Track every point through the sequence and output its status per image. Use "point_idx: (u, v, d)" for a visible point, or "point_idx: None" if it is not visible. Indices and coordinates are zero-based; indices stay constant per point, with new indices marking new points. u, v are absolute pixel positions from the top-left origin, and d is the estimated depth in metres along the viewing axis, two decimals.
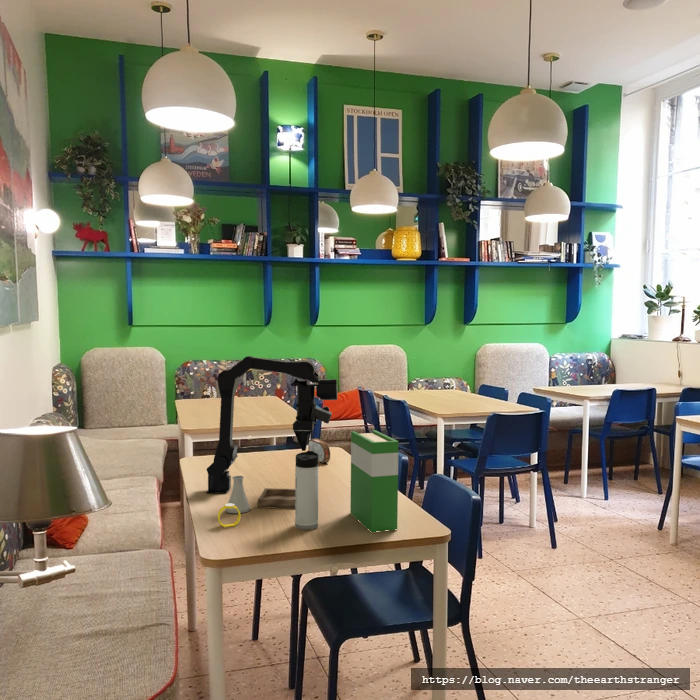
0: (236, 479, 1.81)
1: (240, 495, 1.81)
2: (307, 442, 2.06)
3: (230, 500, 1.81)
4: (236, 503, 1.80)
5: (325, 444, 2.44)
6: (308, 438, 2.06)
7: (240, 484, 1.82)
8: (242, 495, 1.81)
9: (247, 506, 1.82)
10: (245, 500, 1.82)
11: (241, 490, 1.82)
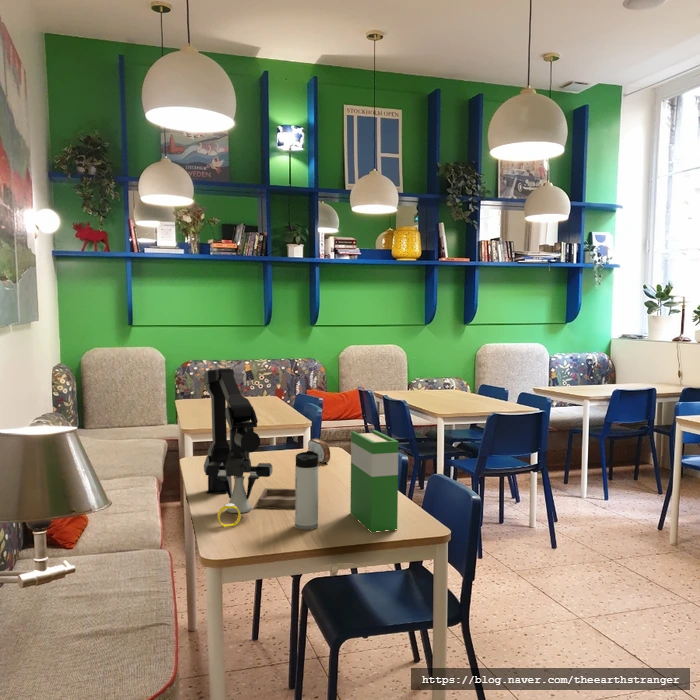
0: (237, 479, 1.81)
1: (241, 495, 1.81)
2: None
3: (231, 500, 1.81)
4: (237, 502, 1.80)
5: (325, 444, 2.44)
6: (247, 491, 1.82)
7: (241, 483, 1.82)
8: (243, 495, 1.81)
9: (248, 506, 1.82)
10: (246, 500, 1.82)
11: (242, 490, 1.82)
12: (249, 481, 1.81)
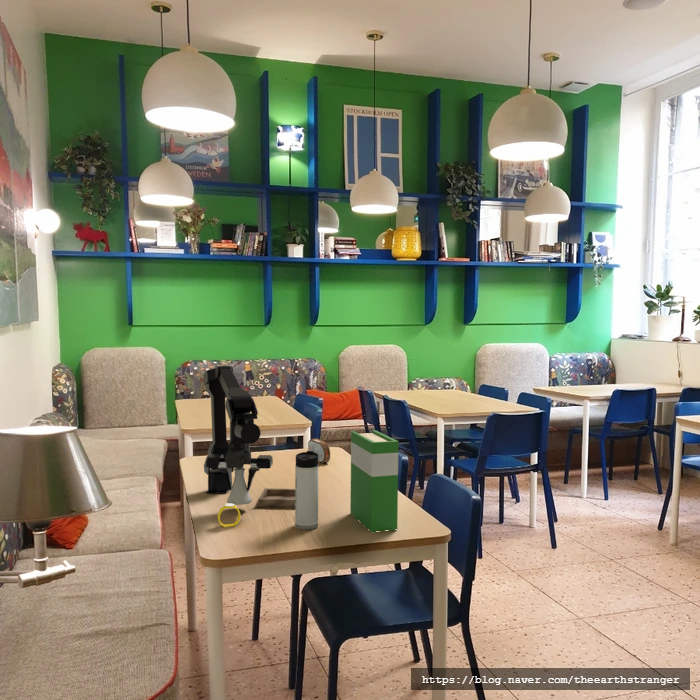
0: (237, 471, 1.81)
1: (242, 487, 1.81)
2: (247, 487, 1.82)
3: (231, 492, 1.81)
4: (237, 494, 1.80)
5: (325, 444, 2.44)
6: None
7: (242, 475, 1.82)
8: (243, 487, 1.81)
9: (248, 498, 1.82)
10: (246, 492, 1.82)
11: (242, 482, 1.81)
12: (249, 473, 1.81)
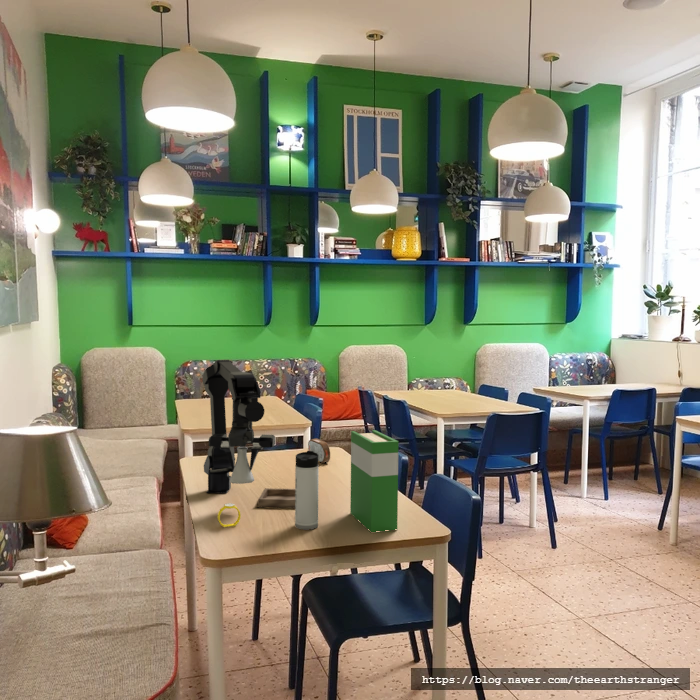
0: (240, 450, 1.81)
1: (244, 466, 1.81)
2: (250, 466, 1.83)
3: (234, 471, 1.81)
4: (240, 473, 1.80)
5: (325, 444, 2.44)
6: None
7: (244, 455, 1.82)
8: (246, 466, 1.81)
9: (251, 477, 1.82)
10: (249, 471, 1.82)
11: (245, 461, 1.82)
12: (252, 452, 1.81)
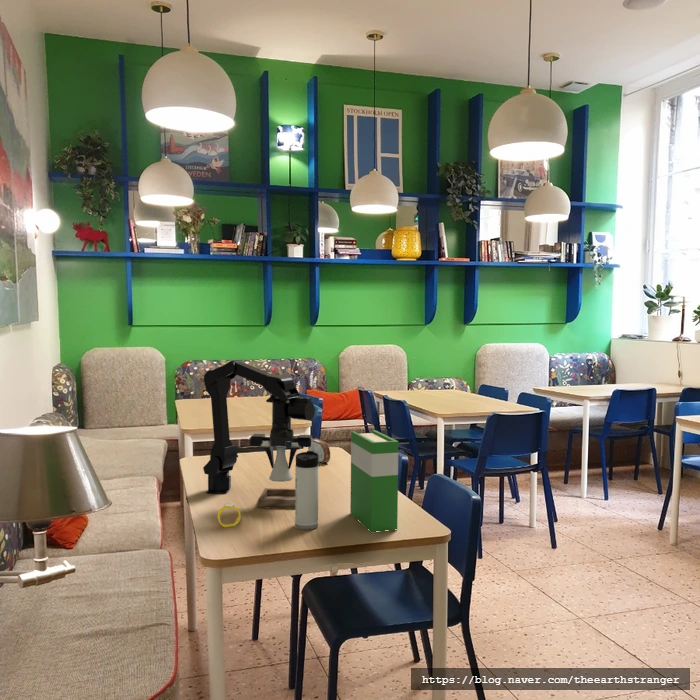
0: (279, 449, 1.89)
1: (284, 465, 1.89)
2: None
3: (274, 469, 1.90)
4: (279, 472, 1.89)
5: (325, 444, 2.44)
6: (289, 461, 1.91)
7: (283, 454, 1.90)
8: (285, 465, 1.90)
9: (290, 475, 1.90)
10: (288, 469, 1.90)
11: (284, 460, 1.90)
12: (291, 451, 1.89)
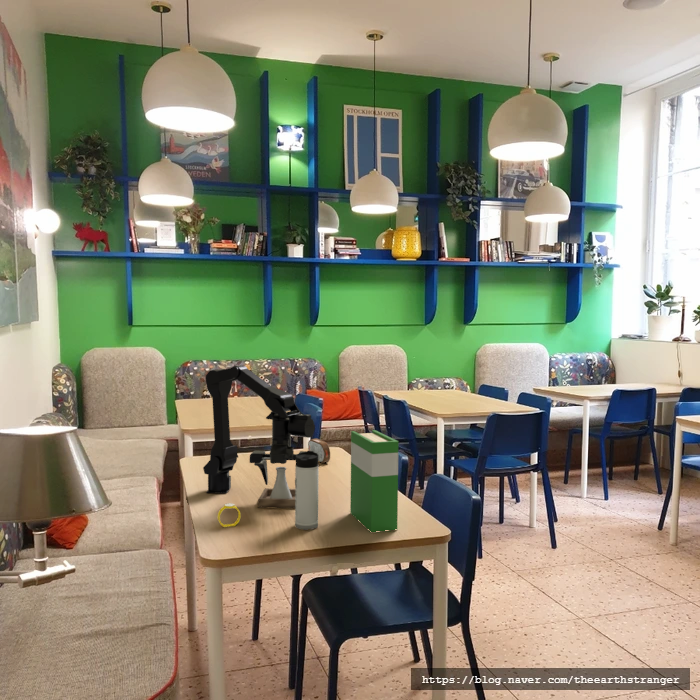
0: (279, 470, 1.90)
1: (284, 485, 1.90)
2: None
3: (274, 490, 1.90)
4: (279, 492, 1.89)
5: (325, 444, 2.44)
6: None
7: (283, 474, 1.90)
8: (285, 485, 1.90)
9: (290, 496, 1.91)
10: (288, 490, 1.91)
11: (284, 480, 1.90)
12: None
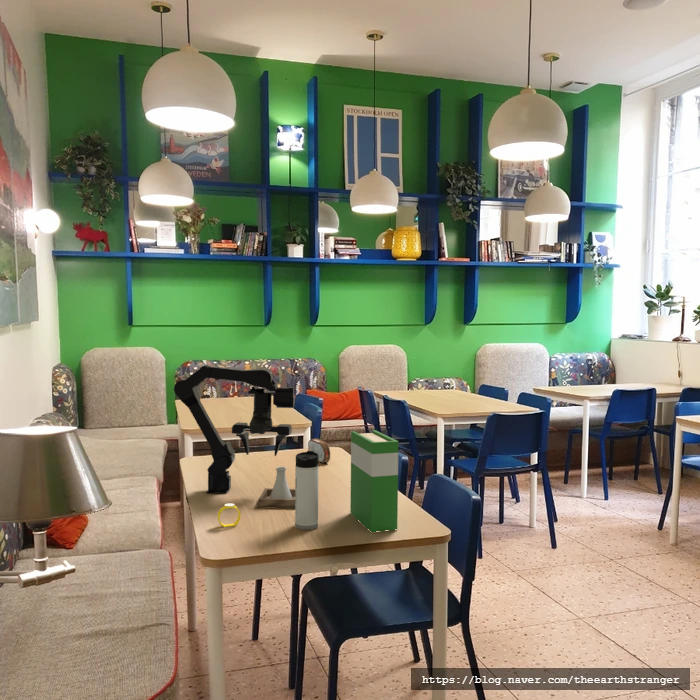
0: (279, 470, 1.90)
1: (284, 485, 1.90)
2: None
3: (274, 490, 1.90)
4: (279, 492, 1.89)
5: (325, 444, 2.44)
6: (275, 449, 2.02)
7: (283, 474, 1.90)
8: (285, 485, 1.90)
9: (290, 496, 1.91)
10: (288, 490, 1.91)
11: (284, 480, 1.90)
12: (277, 439, 2.01)
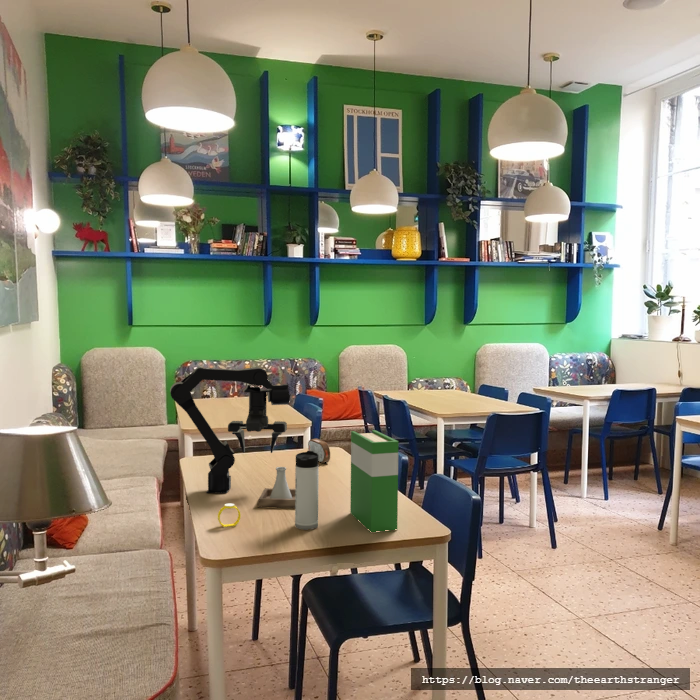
0: (279, 470, 1.90)
1: (284, 485, 1.90)
2: None
3: (274, 490, 1.90)
4: (279, 492, 1.89)
5: (325, 444, 2.44)
6: (271, 446, 2.06)
7: (283, 474, 1.90)
8: (285, 485, 1.90)
9: (290, 496, 1.91)
10: (288, 490, 1.91)
11: (284, 480, 1.90)
12: (273, 437, 2.04)
